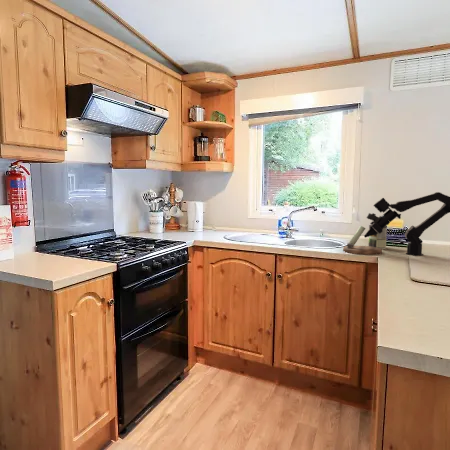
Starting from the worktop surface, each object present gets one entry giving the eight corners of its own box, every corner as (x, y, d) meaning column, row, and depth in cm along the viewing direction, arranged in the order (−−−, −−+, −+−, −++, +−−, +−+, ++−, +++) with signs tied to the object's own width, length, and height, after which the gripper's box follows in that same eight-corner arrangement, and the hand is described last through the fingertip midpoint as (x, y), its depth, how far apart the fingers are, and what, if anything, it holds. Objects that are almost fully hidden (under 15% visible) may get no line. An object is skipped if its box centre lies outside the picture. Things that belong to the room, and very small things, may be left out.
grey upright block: (367, 248, 208) (367, 225, 207) (369, 246, 217) (370, 224, 216) (385, 249, 203) (386, 226, 202) (386, 247, 212) (387, 225, 211)
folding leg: (353, 246, 199) (365, 228, 196) (353, 247, 196) (365, 228, 193) (347, 243, 200) (360, 225, 197) (347, 244, 197) (360, 225, 194)
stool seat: (380, 250, 202) (380, 242, 202) (383, 255, 182) (383, 247, 182) (343, 248, 209) (343, 241, 209) (342, 253, 190) (342, 245, 190)
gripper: (374, 207, 200) (354, 225, 205) (377, 208, 183) (354, 228, 188) (388, 221, 198) (367, 238, 203) (392, 223, 181) (369, 243, 186)
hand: (364, 236), depth 195 cm, fingers closed
